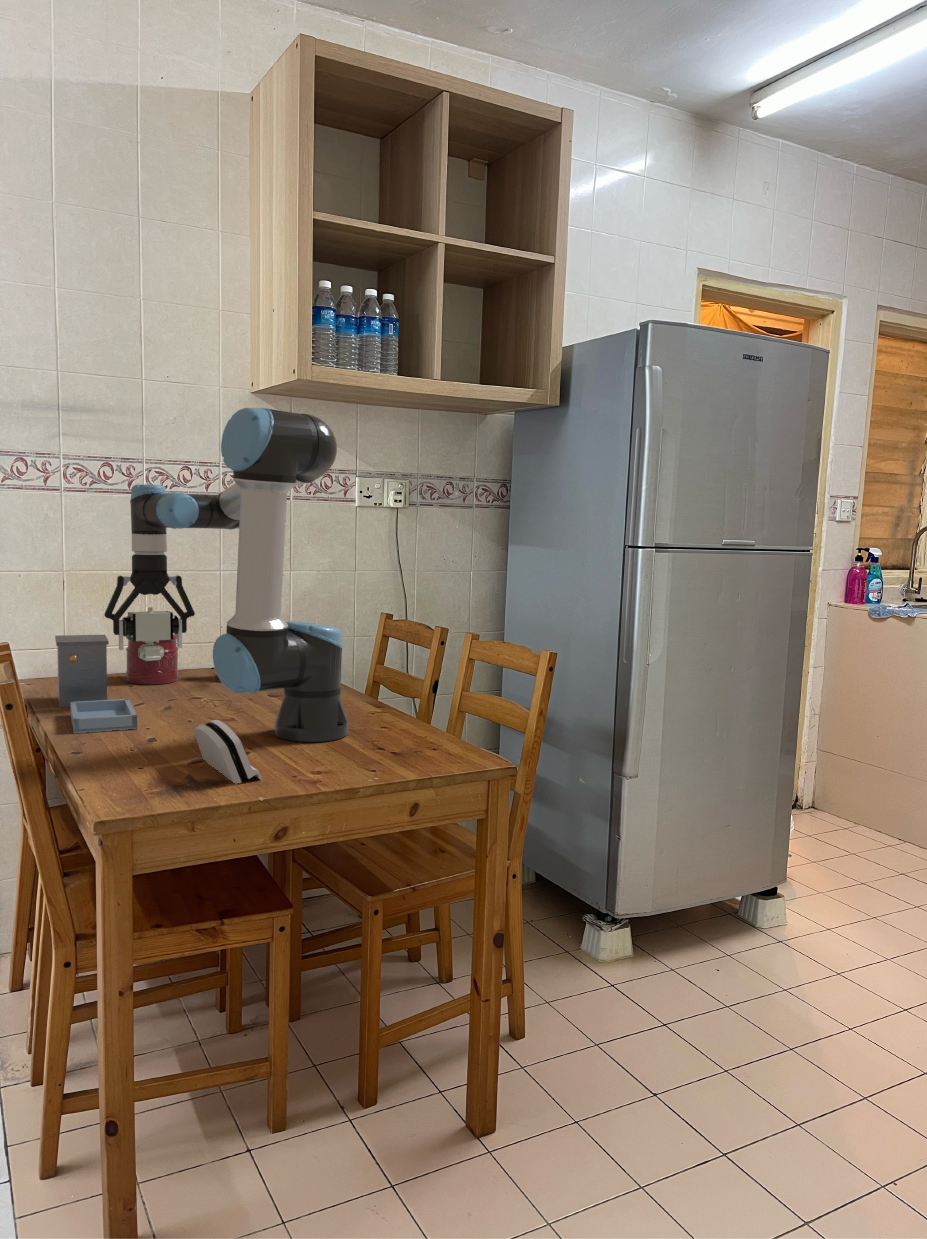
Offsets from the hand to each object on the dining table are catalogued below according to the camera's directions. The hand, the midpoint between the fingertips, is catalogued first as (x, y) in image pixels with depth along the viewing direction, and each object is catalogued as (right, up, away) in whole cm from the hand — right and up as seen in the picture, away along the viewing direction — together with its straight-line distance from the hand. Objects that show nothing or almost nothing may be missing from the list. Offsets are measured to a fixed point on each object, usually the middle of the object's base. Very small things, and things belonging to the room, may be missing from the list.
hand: (150, 648), depth 206 cm
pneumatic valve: (0, -3, 0) cm, 3 cm away
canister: (-10, -10, +31) cm, 34 cm away
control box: (-17, -12, +3) cm, 21 cm away
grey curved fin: (+29, -21, -47) cm, 59 cm away
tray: (-5, -15, -15) cm, 22 cm away
